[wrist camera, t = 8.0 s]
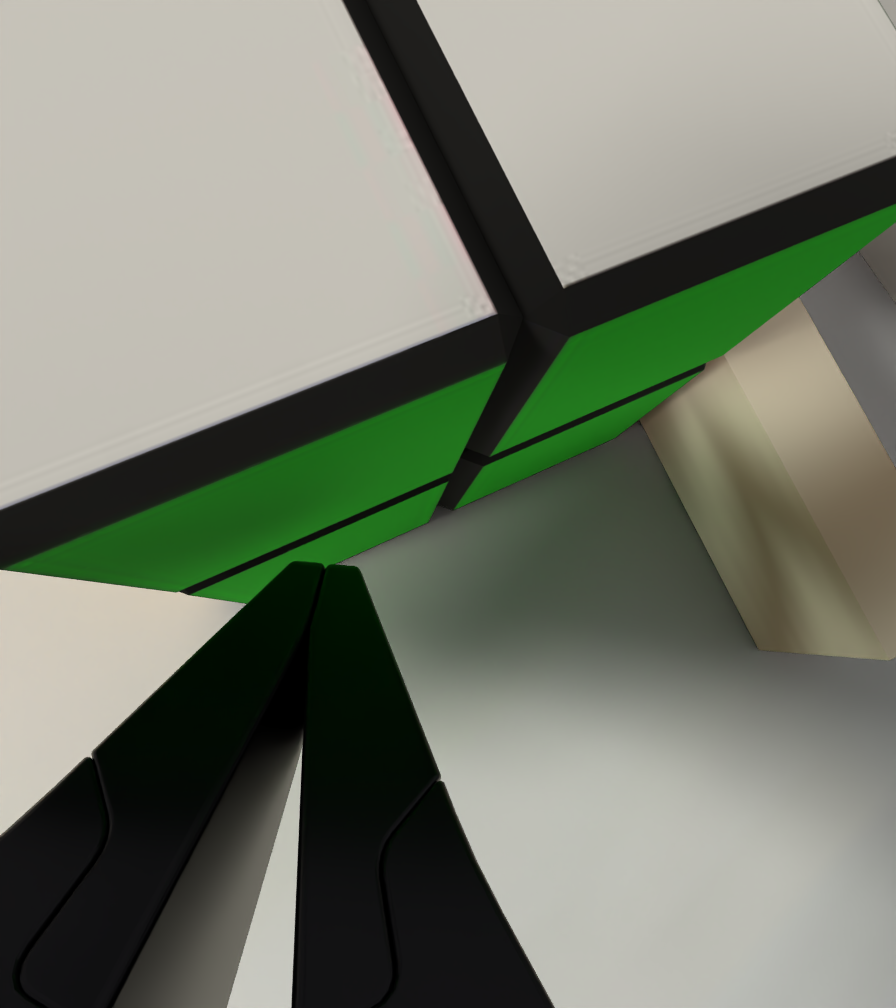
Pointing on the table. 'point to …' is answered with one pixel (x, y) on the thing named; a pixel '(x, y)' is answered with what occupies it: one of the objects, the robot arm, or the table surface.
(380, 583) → the table surface
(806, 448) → the corner walls
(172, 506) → the puzzle cube
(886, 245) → the award plaque
